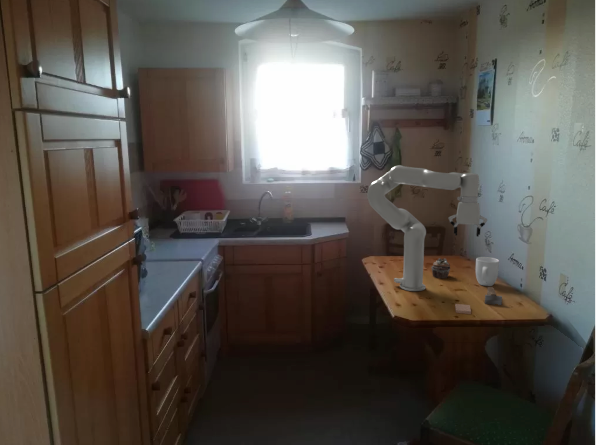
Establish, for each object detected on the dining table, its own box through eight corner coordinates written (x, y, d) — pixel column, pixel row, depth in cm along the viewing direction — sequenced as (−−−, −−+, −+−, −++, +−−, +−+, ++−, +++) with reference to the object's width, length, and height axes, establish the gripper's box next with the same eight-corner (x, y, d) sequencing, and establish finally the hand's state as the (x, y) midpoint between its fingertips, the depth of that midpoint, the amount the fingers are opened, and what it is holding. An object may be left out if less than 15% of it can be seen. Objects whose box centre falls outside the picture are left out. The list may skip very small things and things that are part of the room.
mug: (494, 291, 231) (496, 265, 229) (471, 287, 237) (472, 262, 234) (498, 283, 244) (500, 258, 242) (476, 279, 249) (478, 255, 247)
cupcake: (445, 273, 261) (446, 256, 259) (452, 278, 252) (453, 260, 250) (428, 273, 261) (429, 256, 259) (434, 279, 251) (435, 260, 249)
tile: (455, 307, 210) (455, 313, 203) (455, 303, 210) (456, 310, 203) (469, 308, 209) (470, 315, 201) (469, 305, 209) (470, 311, 201)
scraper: (484, 303, 214) (485, 294, 213) (481, 295, 225) (482, 286, 224) (501, 305, 212) (502, 295, 211) (497, 296, 223) (498, 287, 223)
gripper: (449, 200, 219) (447, 236, 222) (489, 201, 215) (487, 238, 218) (449, 198, 227) (447, 233, 230) (487, 199, 222) (485, 235, 225)
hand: (466, 235), depth 224 cm, fingers open, 9 cm apart
